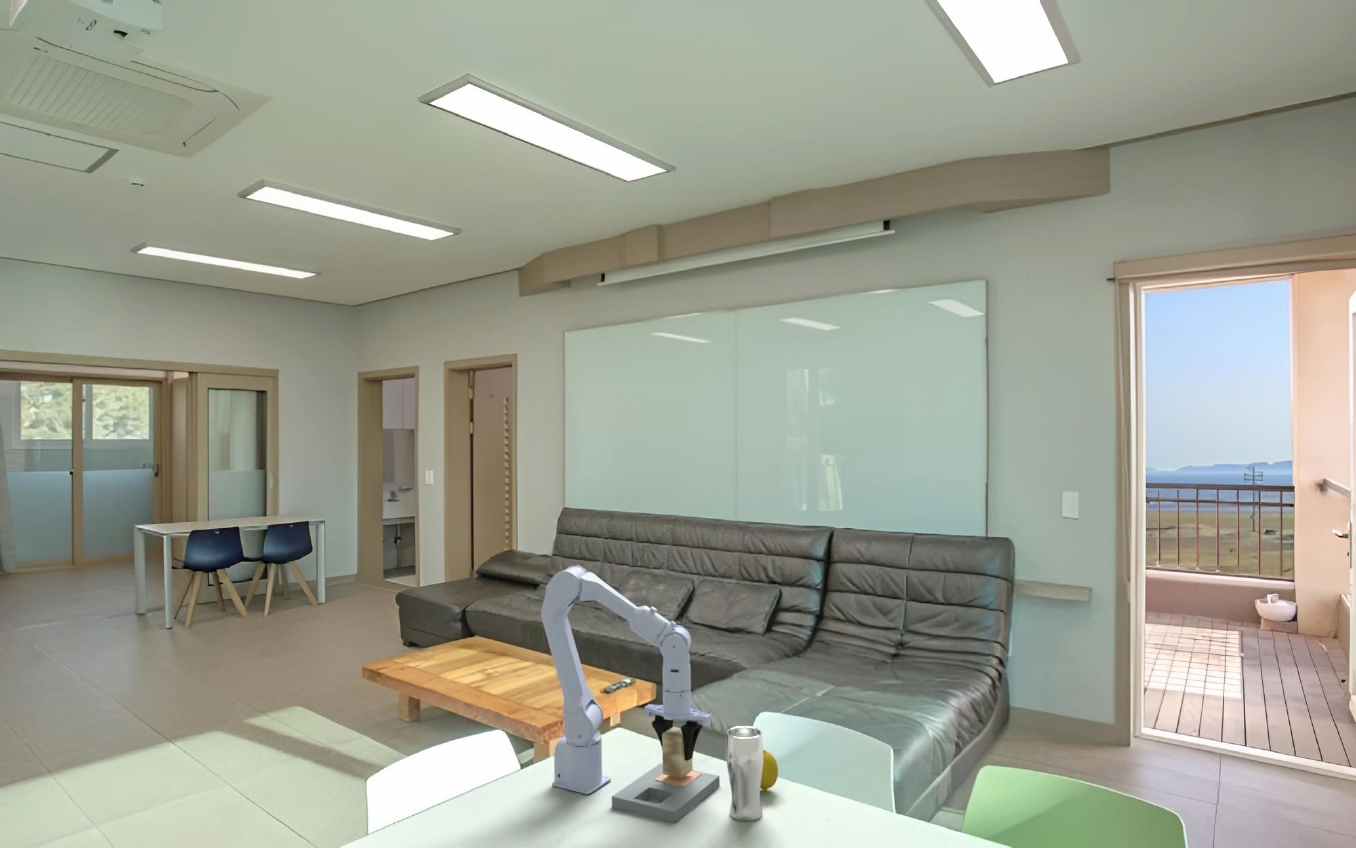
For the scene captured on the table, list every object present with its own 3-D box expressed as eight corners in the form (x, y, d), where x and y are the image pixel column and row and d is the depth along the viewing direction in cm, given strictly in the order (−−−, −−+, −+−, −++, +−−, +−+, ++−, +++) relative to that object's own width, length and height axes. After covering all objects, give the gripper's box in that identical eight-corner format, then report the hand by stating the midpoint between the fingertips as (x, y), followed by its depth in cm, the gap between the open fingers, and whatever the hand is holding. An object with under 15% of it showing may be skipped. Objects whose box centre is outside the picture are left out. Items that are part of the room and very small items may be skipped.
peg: (662, 774, 152) (662, 733, 152) (673, 766, 156) (673, 726, 156) (681, 778, 150) (681, 737, 150) (692, 770, 154) (691, 730, 154)
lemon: (777, 798, 147) (776, 756, 148) (749, 796, 148) (748, 754, 149) (779, 786, 153) (778, 745, 153) (752, 784, 154) (751, 744, 154)
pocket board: (611, 807, 145) (611, 795, 145) (660, 773, 160) (660, 762, 160) (675, 823, 138) (674, 810, 138) (719, 786, 153) (719, 774, 153)
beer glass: (768, 808, 143) (766, 727, 144) (760, 825, 136) (758, 740, 137) (732, 803, 145) (731, 724, 146) (723, 820, 139) (721, 736, 139)
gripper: (636, 689, 154) (637, 757, 153) (698, 698, 147) (700, 770, 146) (654, 680, 160) (655, 745, 159) (715, 689, 153) (716, 757, 152)
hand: (678, 756), depth 153 cm, fingers closed on peg, 4 cm apart
